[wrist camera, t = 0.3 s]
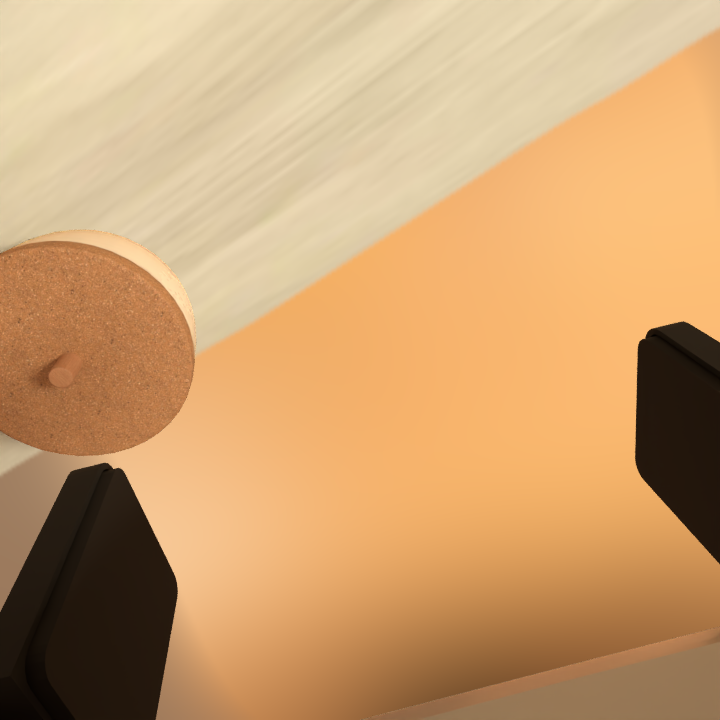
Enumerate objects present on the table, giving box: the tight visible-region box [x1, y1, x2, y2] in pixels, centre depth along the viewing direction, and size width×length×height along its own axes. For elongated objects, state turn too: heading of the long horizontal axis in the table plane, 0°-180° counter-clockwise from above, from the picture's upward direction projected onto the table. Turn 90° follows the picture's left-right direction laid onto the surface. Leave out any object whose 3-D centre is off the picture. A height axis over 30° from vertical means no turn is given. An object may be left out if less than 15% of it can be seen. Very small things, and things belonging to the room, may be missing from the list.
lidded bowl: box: [0, 230, 196, 456], centre depth 35 cm, size 13×13×11 cm
